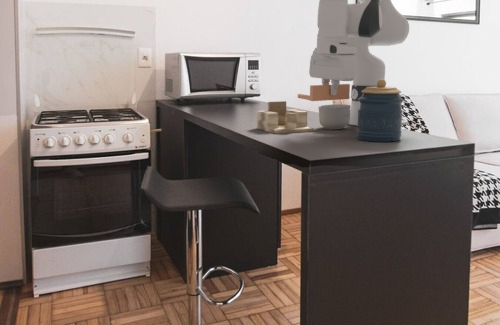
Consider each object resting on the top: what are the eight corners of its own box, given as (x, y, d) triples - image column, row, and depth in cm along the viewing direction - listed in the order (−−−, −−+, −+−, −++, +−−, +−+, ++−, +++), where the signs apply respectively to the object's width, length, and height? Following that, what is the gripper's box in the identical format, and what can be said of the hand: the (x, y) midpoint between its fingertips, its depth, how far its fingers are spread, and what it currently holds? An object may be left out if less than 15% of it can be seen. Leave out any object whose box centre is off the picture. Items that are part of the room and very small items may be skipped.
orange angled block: (296, 97, 154) (296, 83, 153) (331, 96, 159) (331, 82, 158) (312, 101, 145) (312, 85, 144) (349, 99, 150) (349, 84, 149)
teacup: (349, 131, 163) (350, 107, 161) (316, 130, 165) (317, 106, 163) (349, 125, 176) (350, 103, 175) (319, 124, 178) (320, 102, 177)
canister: (355, 135, 154) (357, 78, 150) (398, 136, 151) (401, 78, 148) (357, 142, 141) (360, 80, 137) (404, 143, 139) (408, 80, 135)
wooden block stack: (257, 128, 169) (257, 102, 167) (294, 126, 175) (294, 100, 173) (274, 133, 156) (275, 105, 155) (314, 131, 162) (315, 104, 160)
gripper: (304, 47, 153) (304, 91, 156) (341, 47, 135) (339, 98, 138) (322, 47, 155) (321, 91, 159) (360, 47, 137) (358, 97, 140)
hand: (330, 94), depth 148 cm, fingers closed on orange angled block, 2 cm apart
